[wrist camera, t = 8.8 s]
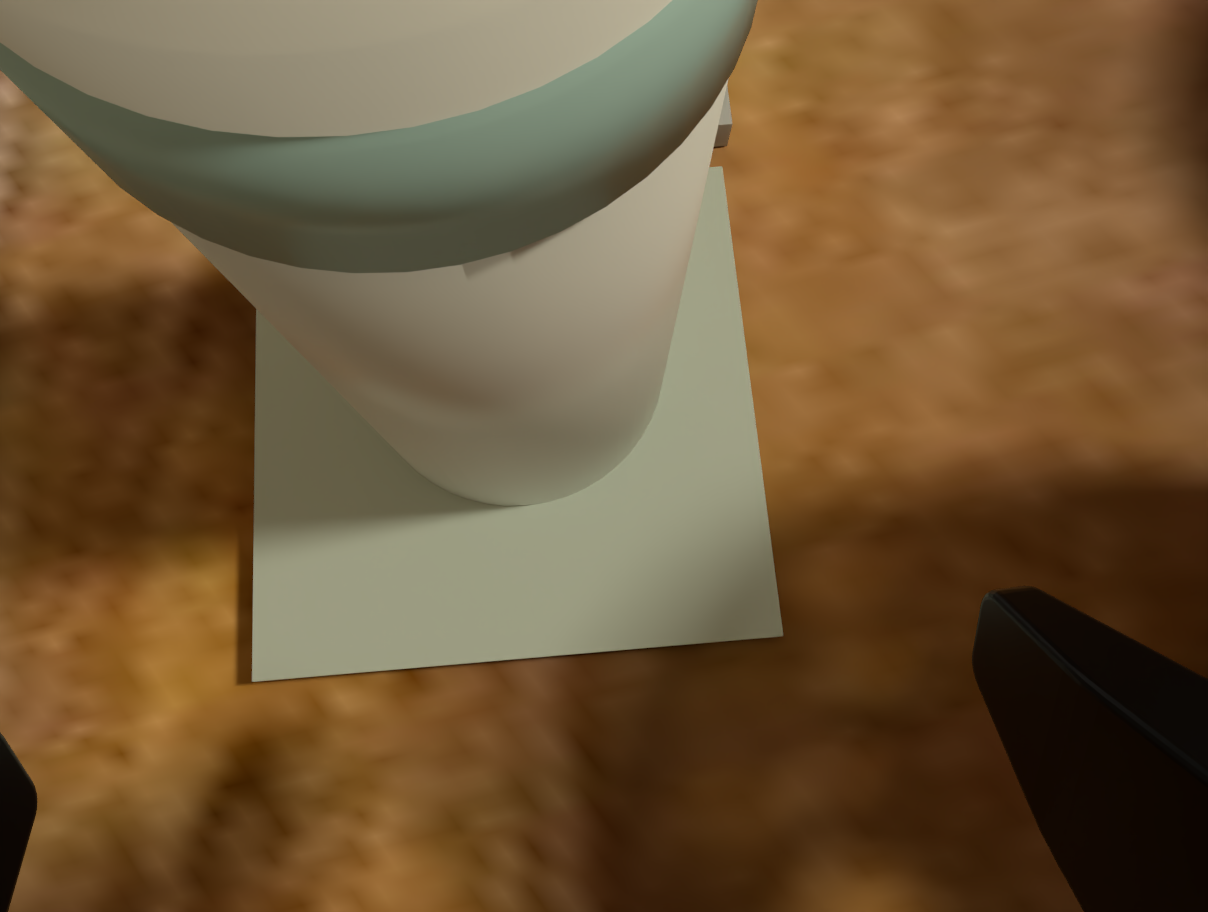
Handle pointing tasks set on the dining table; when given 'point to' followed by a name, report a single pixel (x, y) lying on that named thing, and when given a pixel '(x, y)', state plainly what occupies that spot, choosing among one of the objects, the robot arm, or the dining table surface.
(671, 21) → the cartridge
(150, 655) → the dining table surface
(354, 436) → the mat
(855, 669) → the dining table surface
